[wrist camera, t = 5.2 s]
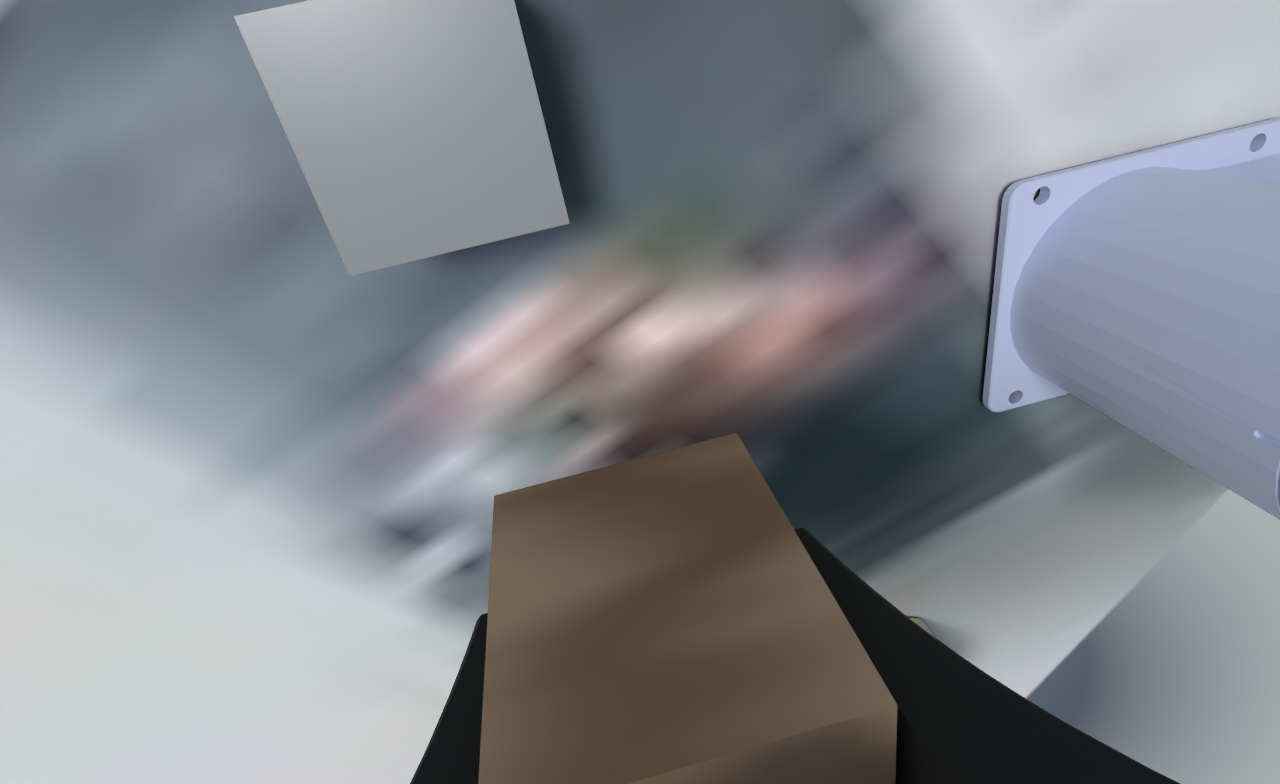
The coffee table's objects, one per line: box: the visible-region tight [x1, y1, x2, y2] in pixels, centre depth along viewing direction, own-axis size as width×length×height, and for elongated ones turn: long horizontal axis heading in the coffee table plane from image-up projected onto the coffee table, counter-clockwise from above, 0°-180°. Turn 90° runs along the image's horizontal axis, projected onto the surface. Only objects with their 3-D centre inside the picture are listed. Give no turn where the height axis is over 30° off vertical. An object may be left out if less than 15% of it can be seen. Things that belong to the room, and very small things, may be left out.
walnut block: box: [478, 433, 897, 784], centre depth 10 cm, size 4×4×6 cm
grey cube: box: [234, 0, 570, 276], centre depth 13 cm, size 4×4×4 cm
